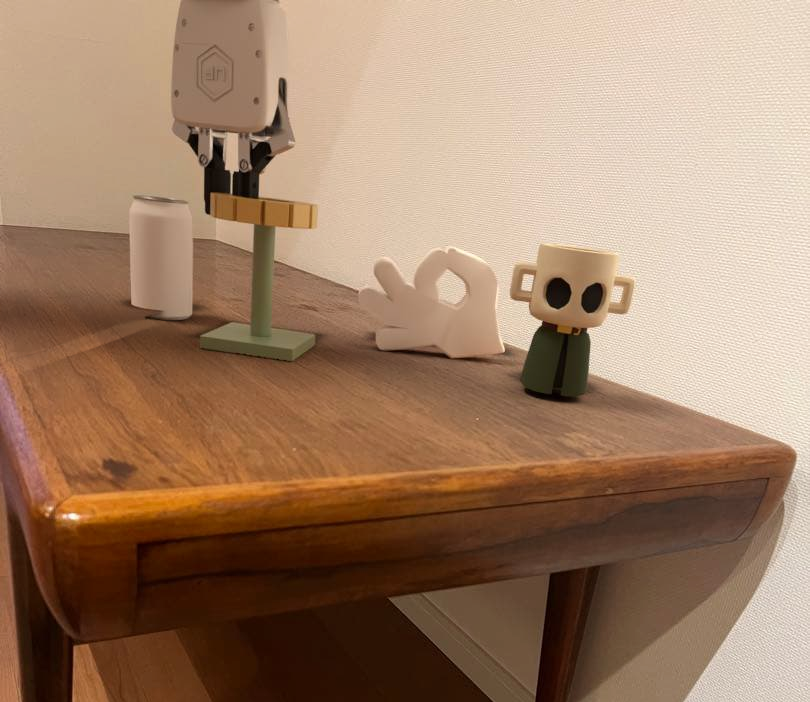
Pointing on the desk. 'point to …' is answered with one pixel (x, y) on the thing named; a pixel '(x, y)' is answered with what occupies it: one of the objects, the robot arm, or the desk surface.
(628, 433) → the desk surface
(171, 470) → the desk surface
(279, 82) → the robot arm
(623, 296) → the character mug
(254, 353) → the post
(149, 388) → the desk surface
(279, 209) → the ring
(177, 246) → the can
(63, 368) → the desk surface
